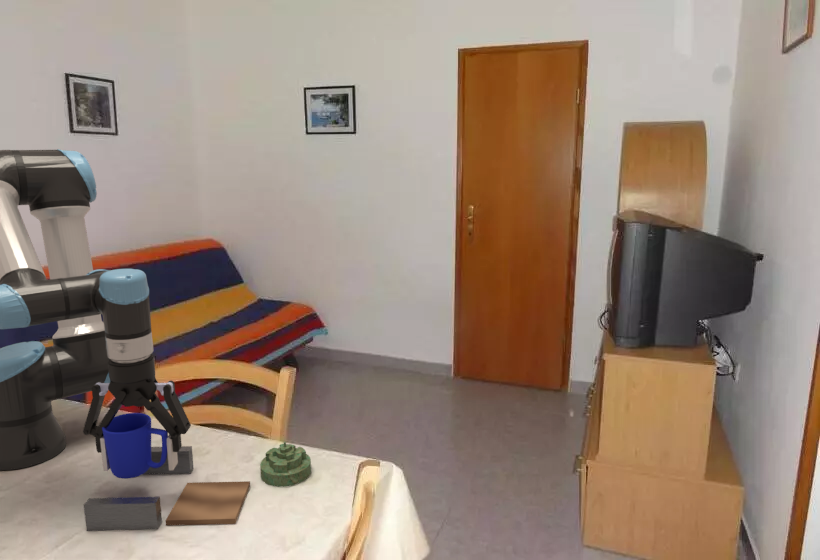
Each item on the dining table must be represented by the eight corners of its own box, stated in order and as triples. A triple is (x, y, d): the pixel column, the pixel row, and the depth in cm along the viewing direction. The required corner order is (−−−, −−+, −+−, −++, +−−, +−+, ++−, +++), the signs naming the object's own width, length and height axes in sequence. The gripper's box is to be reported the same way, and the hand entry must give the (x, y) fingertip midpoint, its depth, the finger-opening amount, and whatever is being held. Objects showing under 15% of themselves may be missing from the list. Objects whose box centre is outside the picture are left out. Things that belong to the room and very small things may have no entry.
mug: (156, 488, 106) (151, 438, 104) (97, 480, 109) (91, 430, 106) (182, 465, 114) (178, 417, 112) (126, 457, 117) (122, 410, 114)
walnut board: (187, 487, 115) (187, 482, 115) (250, 485, 116) (250, 481, 116) (165, 525, 104) (165, 520, 103) (235, 523, 104) (235, 518, 104)
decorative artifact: (253, 485, 116) (303, 489, 115) (251, 453, 115) (302, 456, 114) (270, 460, 126) (316, 462, 125) (268, 429, 125) (315, 431, 124)
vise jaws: (139, 462, 125) (137, 440, 123) (197, 461, 125) (196, 439, 124) (86, 530, 102) (83, 504, 101) (157, 529, 103) (155, 503, 102)
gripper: (51, 363, 102) (66, 478, 107) (191, 363, 103) (199, 477, 108) (73, 348, 109) (86, 456, 114) (203, 349, 110) (210, 455, 115)
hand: (141, 466), depth 111 cm, fingers closed on mug, 11 cm apart
